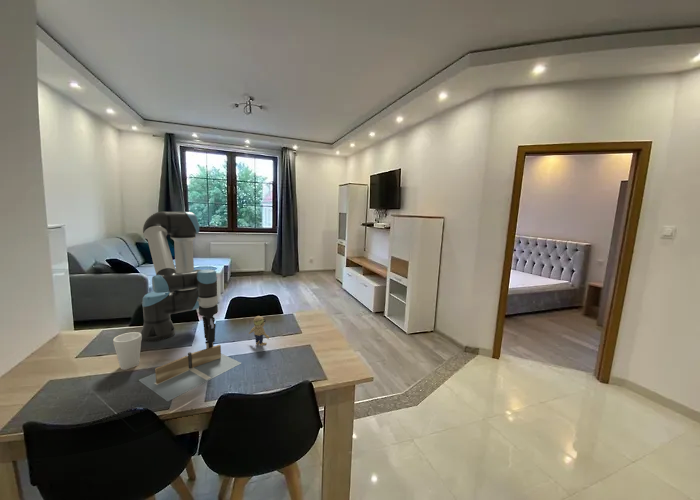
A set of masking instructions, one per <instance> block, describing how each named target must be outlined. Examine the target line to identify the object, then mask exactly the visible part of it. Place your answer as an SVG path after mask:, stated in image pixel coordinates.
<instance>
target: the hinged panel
mask: <svg viewBox="0 0 700 500" xmlns="http://www.w3.org/2000/svg"><path fill="white" fill-rule="evenodd" d="M221 354H222V346H221V344H217V345H213V347H210V348H207V349H206V348H204V349H201V350H197V351H194V352H191V351H190V352H188V353H187V356H188V364H189V368H193V367H196V366H199V365H202V364H205V363H208V362H211V361H214V360H217V359H220V358H221Z"/></svg>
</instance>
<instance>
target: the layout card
mask: <svg viewBox="0 0 700 500" xmlns="http://www.w3.org/2000/svg"><path fill="white" fill-rule="evenodd" d="M241 364H242V362H240V361H238V360H236V359H235V358H231V356H227V355H225V354H223V353H221V358H220V359H217V360H214V361H211V362H208V363H205V364H202V365H199V366H196V367H193V368H189V370H187V371H185V372H183V373H181V374H178V375H176V376H174V377H172V378H170V379H167V380H165V381H163V382H161V383H159V384H157V383H156V374H155V372H154V373H151V374H150V375H147V376H145V377H142V378H140V379H138V382H140V383H141V384H142V385H144V386H145V387H146V388H148V389H150V390H151V391H152V392H154V393H155V394H157V395H158V396H159V397H160V398H162V399H163V400H165V401H166V402H170V401H172V400H174V399H176V398H177V397H179V396H182V395H183V394H186V393H187V392H189V391H191V390H193V389H195V388H197V387H199V386H200V385H201V386H202V385H203V384H204V383H207V382H208V381H210V380H212V379H215V378H216V377H218V376H220V375H221V374H224V373H225V372H228V371H231V370H232V369H233V368H235V367H238V366H239V365H241ZM188 365H189V364H188Z"/></svg>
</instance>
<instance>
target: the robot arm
mask: <svg viewBox="0 0 700 500" xmlns="http://www.w3.org/2000/svg"><path fill="white" fill-rule="evenodd" d="M142 232H143V237H144V238H145V239H146V240H147V243H148V247H149V251H150V255H151V258H152V259H151V261H152V264H153V268H154V273H155V275H153V276H152V278H151V286H152V290H153V291H150V292H148V293H146V294H144V296H143V297H142V305H141V306H142V312H143V313H142V314H143V326H142V327H141V332H140V333H141V334H142V340H141V341H143V342H159V341H163V340H166V339H169V338H171V337H173V336H174V335H175V334H176V327H175V326H174V323H173V321H172V320H171V319H172V318H171V315H174V314H178V313H185V312H191V311H194V310H197V309H198V314H199V316H202V324H203V331H204V333H203V334H204V339H205V342H204V343H205V345H206V346H205V347H206V348H205V349H207V348H210V347H213V346H214V343H215V341H216V327H217V326H216V325H217V324H216V323H215V321H216V319H215V317H214V316H215V315H216V314H218V312H219V307H218V303H219V302H218V301H219V300H218V281H217V280H218V277H217V271H216V270H215V269H209V268H207V269H206V268H205V269H200V268H199V269H198V268H197V269H195V266H194V265H195V264H194V244H193V242H194V240H195V239H196V237H197V236H196V235H197V234H199V233H200V223H199V220H198V217H197V215H196V214H195V213H194V212H189V211H158V212H155V213H153V214H151V215H149V217H148V218H147V219H146V220H145V221H144V224H143V227H142ZM168 235H170V239H171V240H173V242H174V244H173V246H174V260H173V256H172V253H171V250H170V249H171V248H170V245H169V242H168V237H167V236H168ZM174 261H175V262H174Z"/></svg>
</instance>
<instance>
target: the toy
mask: <svg viewBox="0 0 700 500" xmlns="http://www.w3.org/2000/svg"><path fill="white" fill-rule="evenodd" d="M265 323H266V319H265V318H264V317H263V316H260V315H257V316H255V317H254V318H253V324H254V326H253V327H252V328H251V330H250V331H249V332H248V334H249V335H250V334H251V333H253V335H254V337H255V345H259V346H265V345H267V342H264V337H265V338H266V339H267V340H269V339H270V336H269V335H267V333H266V331H265V329H264V326H265Z"/></svg>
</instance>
